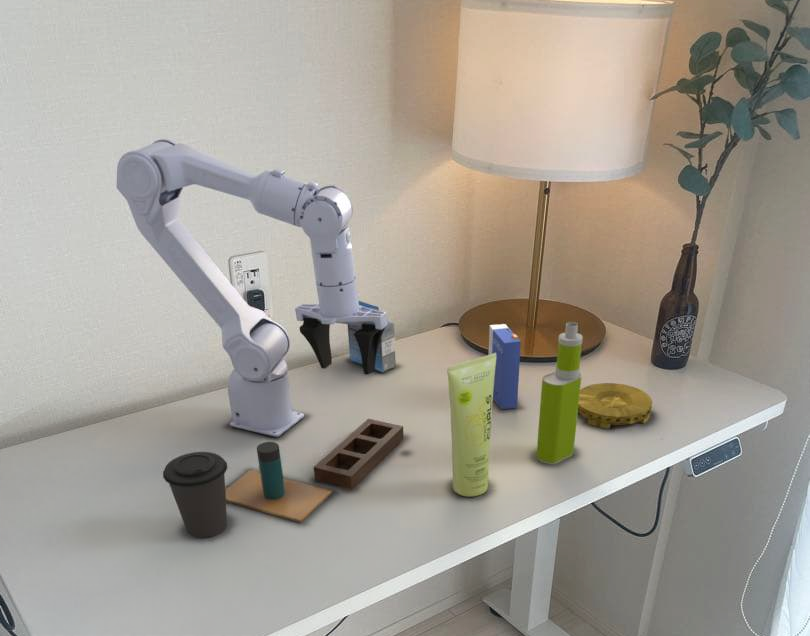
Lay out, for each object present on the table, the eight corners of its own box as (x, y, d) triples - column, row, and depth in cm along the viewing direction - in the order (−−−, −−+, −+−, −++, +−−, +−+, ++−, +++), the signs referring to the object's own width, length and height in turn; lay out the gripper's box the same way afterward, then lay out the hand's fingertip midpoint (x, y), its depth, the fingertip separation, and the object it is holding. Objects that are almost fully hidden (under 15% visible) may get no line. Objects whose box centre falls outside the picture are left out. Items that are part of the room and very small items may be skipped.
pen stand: (314, 480, 116) (313, 467, 115) (369, 430, 128) (368, 418, 126) (351, 489, 114) (350, 476, 112) (403, 438, 125) (403, 426, 124)
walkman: (517, 407, 133) (521, 338, 126) (501, 410, 132) (504, 340, 125) (502, 387, 139) (505, 321, 132) (486, 389, 139) (489, 322, 132)
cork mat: (217, 498, 113) (216, 496, 112) (250, 471, 118) (250, 469, 118) (301, 522, 107) (300, 520, 107) (332, 493, 113) (331, 490, 113)
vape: (578, 452, 120) (592, 324, 109) (550, 466, 117) (562, 335, 106) (559, 443, 123) (571, 316, 111) (532, 456, 120) (541, 327, 108)
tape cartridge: (397, 366, 147) (394, 301, 140) (382, 373, 145) (379, 307, 138) (363, 354, 152) (359, 290, 145) (348, 360, 150) (343, 296, 143)
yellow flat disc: (663, 423, 127) (665, 410, 126) (593, 433, 125) (594, 421, 124) (628, 391, 137) (630, 379, 135) (563, 400, 134) (564, 388, 133)
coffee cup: (208, 551, 103) (194, 485, 97) (163, 533, 106) (146, 468, 100) (250, 519, 108) (239, 455, 102) (206, 503, 112) (193, 440, 106)
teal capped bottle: (259, 496, 112) (252, 449, 108) (271, 486, 114) (264, 439, 110) (277, 501, 111) (270, 454, 107) (289, 490, 113) (283, 444, 109)
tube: (482, 502, 110) (487, 370, 99) (446, 497, 111) (447, 366, 100) (491, 481, 114) (496, 352, 103) (456, 476, 116) (458, 348, 104)
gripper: (278, 285, 115) (293, 373, 122) (366, 293, 109) (376, 385, 116) (304, 270, 120) (318, 356, 127) (390, 276, 114) (399, 366, 121)
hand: (347, 368), depth 122 cm, fingers open, 7 cm apart
